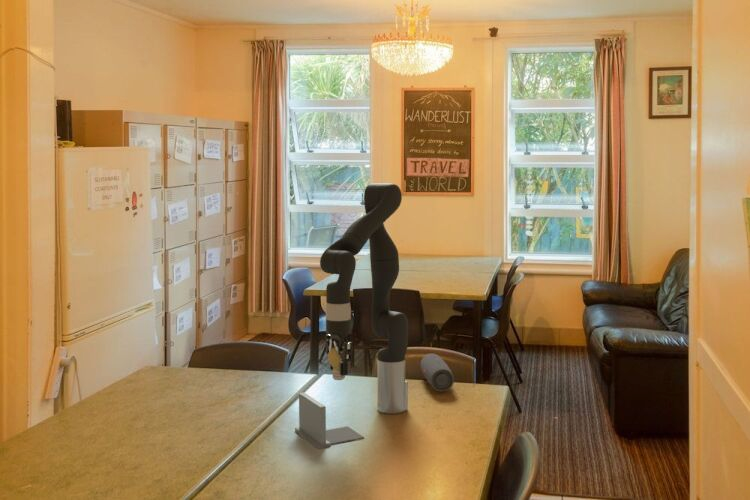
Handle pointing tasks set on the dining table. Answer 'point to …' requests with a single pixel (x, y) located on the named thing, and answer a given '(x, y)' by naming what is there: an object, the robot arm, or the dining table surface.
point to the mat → (342, 435)
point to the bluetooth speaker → (437, 372)
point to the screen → (312, 421)
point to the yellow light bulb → (335, 364)
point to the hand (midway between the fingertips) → (338, 372)
